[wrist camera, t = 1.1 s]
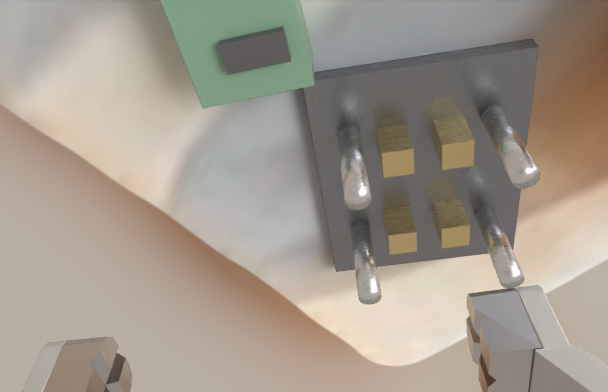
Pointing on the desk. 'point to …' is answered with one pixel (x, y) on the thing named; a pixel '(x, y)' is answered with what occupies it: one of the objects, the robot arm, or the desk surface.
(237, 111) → the desk surface
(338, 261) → the chassis
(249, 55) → the green rectangular block
